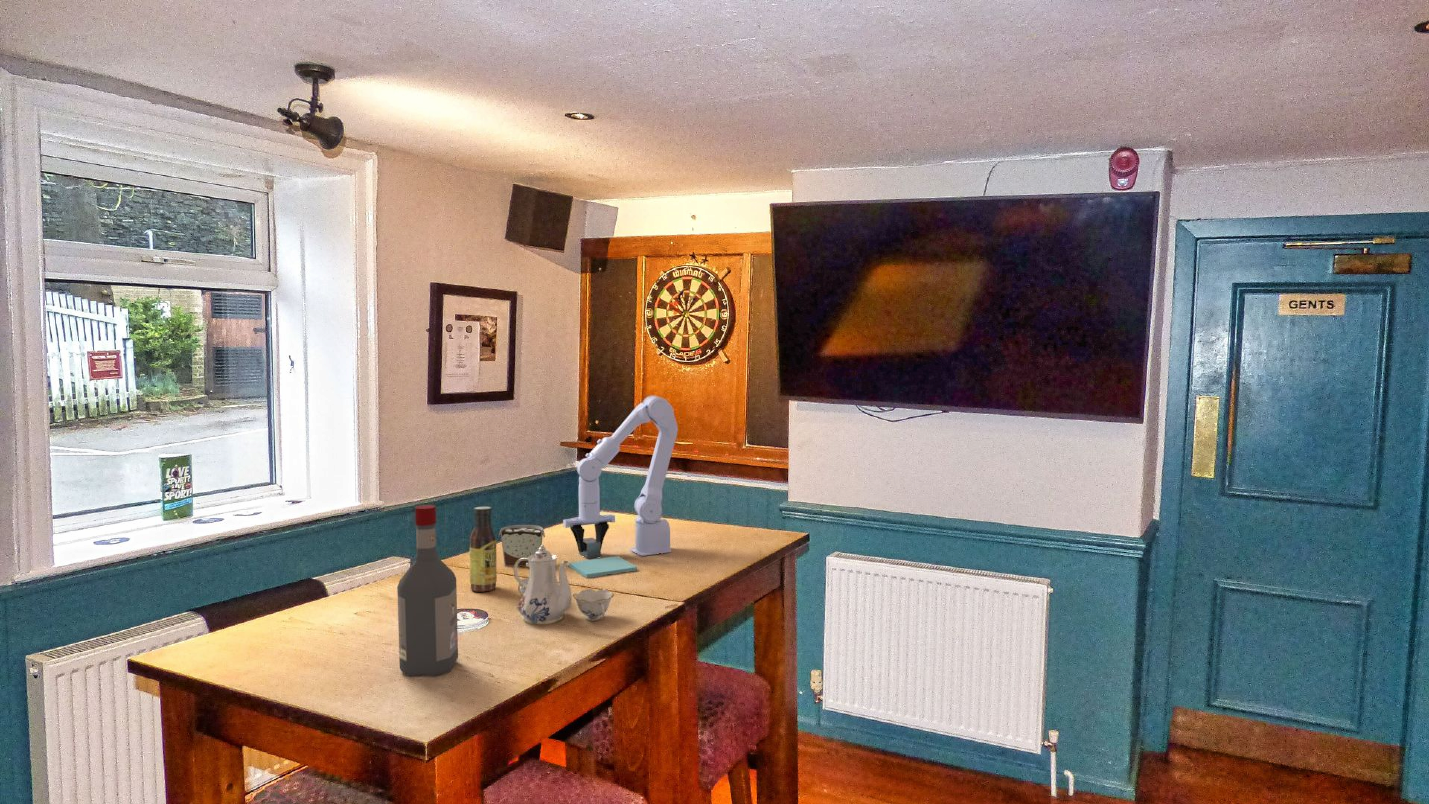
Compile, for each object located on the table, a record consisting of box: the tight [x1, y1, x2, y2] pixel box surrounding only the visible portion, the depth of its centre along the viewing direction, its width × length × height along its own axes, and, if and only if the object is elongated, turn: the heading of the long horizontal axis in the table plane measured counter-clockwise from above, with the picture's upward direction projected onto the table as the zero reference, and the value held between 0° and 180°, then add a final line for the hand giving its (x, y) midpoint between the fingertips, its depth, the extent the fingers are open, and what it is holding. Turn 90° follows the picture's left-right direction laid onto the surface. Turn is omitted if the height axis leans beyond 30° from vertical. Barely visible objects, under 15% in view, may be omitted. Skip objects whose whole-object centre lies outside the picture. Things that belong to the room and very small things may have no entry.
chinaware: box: [513, 544, 615, 626], centre depth 191 cm, size 28×17×17 cm, turn 59°
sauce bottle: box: [469, 506, 498, 593], centre depth 210 cm, size 7×6×20 cm
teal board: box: [567, 555, 638, 579], centre depth 229 cm, size 14×13×1 cm
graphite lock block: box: [578, 537, 602, 560], centre depth 242 cm, size 4×6×4 cm, turn 30°
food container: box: [498, 524, 546, 567], centre depth 234 cm, size 12×6×10 cm, turn 84°
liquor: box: [397, 504, 459, 678], centre depth 160 cm, size 9×9×30 cm
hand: (589, 550), depth 242 cm, fingers open, 5 cm apart
